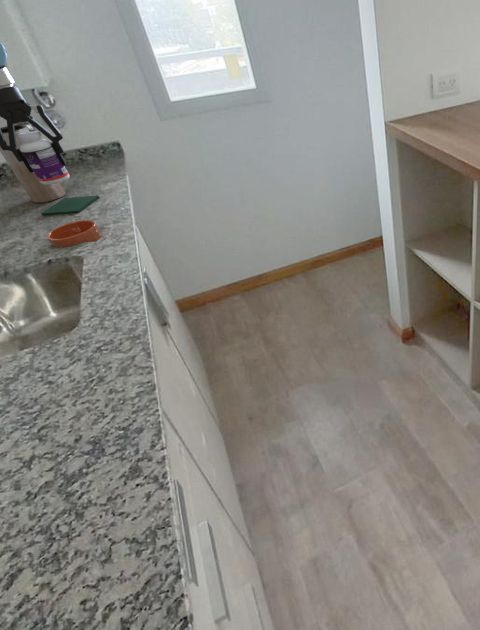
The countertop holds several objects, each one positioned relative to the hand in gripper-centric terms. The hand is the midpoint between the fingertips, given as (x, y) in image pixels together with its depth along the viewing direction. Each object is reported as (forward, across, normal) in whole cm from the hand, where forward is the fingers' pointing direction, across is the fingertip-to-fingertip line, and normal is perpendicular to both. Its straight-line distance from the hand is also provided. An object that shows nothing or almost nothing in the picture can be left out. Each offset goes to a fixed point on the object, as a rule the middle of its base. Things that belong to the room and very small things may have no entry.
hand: (48, 167), depth 136 cm
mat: (+13, 0, 0) cm, 13 cm away
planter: (+13, -7, +16) cm, 22 cm away
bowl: (+13, +3, -32) cm, 34 cm away
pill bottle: (+5, 0, 0) cm, 5 cm away
